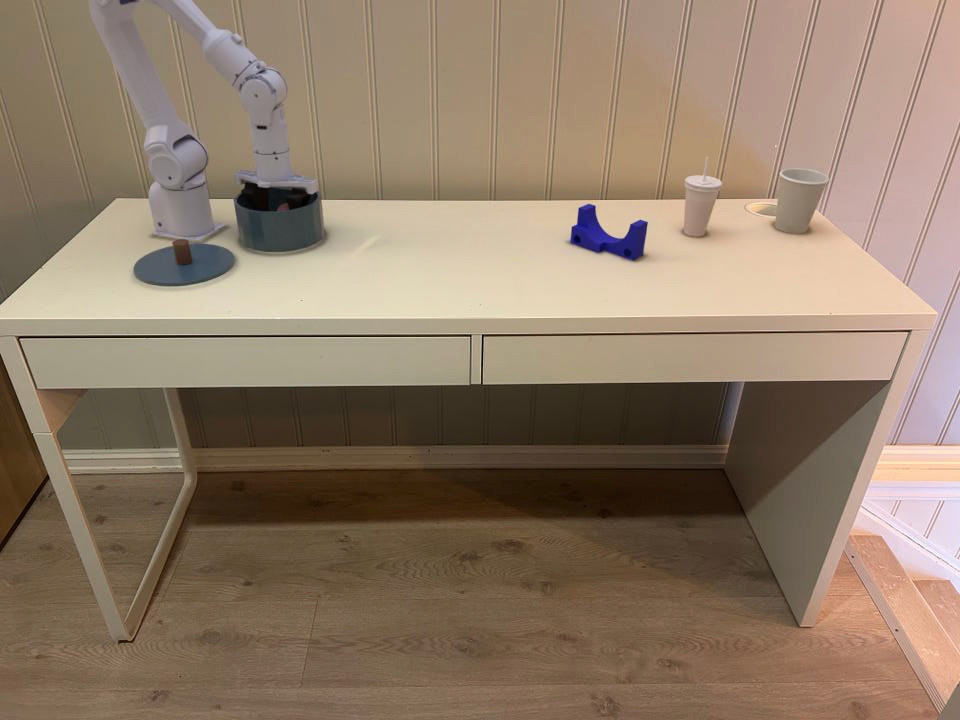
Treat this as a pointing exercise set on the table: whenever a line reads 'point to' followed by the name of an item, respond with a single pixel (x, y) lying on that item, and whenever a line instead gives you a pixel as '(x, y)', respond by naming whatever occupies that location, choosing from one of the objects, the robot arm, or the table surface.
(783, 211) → the dixie cup
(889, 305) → the table surface
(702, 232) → the smoothie
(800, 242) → the table surface
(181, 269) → the lid
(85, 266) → the table surface
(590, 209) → the blue cradle bracket
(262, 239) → the tin
